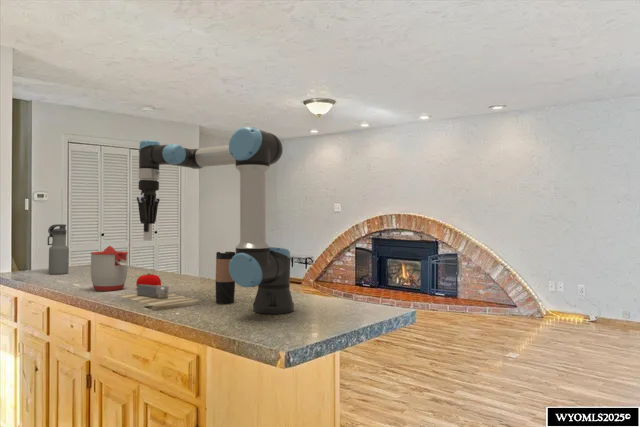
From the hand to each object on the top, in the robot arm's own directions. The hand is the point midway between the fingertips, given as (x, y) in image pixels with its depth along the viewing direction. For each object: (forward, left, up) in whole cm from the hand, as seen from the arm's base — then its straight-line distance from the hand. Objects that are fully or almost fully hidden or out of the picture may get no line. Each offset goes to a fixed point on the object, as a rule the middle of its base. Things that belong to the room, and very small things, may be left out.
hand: (147, 240), depth 177 cm
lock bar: (+3, -4, -23) cm, 23 cm away
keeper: (+6, -8, -23) cm, 25 cm away
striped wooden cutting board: (-2, -4, -24) cm, 25 cm away
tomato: (+21, -12, -25) cm, 35 cm away
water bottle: (+113, -6, -25) cm, 116 cm away
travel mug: (-21, -22, -25) cm, 39 cm away
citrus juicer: (+39, -3, -25) cm, 46 cm away
